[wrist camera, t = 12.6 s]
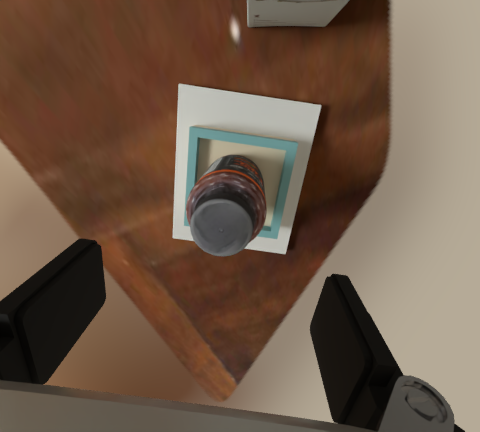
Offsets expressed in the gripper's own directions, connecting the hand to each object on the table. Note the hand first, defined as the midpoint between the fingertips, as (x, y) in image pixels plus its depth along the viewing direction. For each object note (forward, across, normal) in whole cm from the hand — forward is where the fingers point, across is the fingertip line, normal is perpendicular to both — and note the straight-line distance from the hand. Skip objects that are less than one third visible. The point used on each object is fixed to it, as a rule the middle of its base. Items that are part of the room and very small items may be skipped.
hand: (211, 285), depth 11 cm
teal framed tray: (+20, 0, +1) cm, 20 cm away
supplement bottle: (+17, 0, +1) cm, 17 cm away
